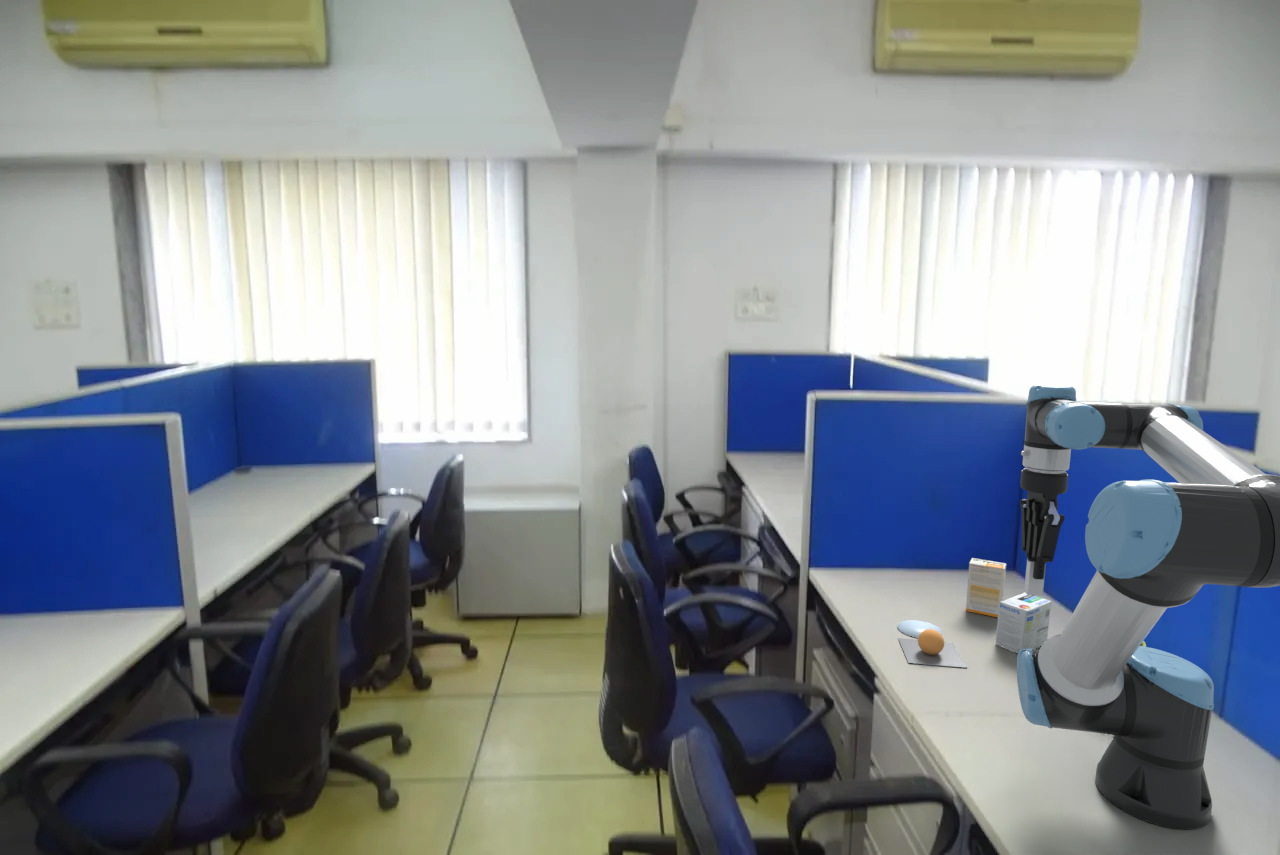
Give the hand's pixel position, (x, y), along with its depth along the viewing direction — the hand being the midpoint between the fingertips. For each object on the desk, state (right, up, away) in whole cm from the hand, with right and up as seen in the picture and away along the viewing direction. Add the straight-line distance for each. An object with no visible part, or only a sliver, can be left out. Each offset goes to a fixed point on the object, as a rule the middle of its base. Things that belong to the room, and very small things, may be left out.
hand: (1033, 593), depth 137 cm
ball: (-9, -17, +27) cm, 33 cm away
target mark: (-8, -19, +27) cm, 34 cm away
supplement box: (+14, -16, +50) cm, 54 cm away
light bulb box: (+14, -19, +32) cm, 40 cm away
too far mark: (-6, -18, +39) cm, 43 cm away
